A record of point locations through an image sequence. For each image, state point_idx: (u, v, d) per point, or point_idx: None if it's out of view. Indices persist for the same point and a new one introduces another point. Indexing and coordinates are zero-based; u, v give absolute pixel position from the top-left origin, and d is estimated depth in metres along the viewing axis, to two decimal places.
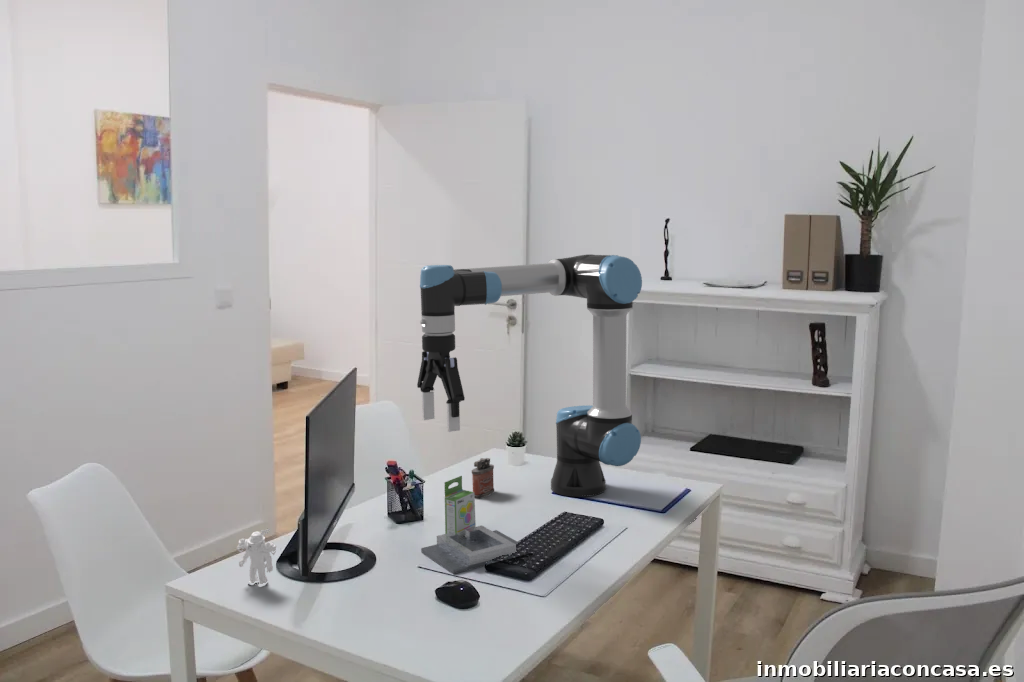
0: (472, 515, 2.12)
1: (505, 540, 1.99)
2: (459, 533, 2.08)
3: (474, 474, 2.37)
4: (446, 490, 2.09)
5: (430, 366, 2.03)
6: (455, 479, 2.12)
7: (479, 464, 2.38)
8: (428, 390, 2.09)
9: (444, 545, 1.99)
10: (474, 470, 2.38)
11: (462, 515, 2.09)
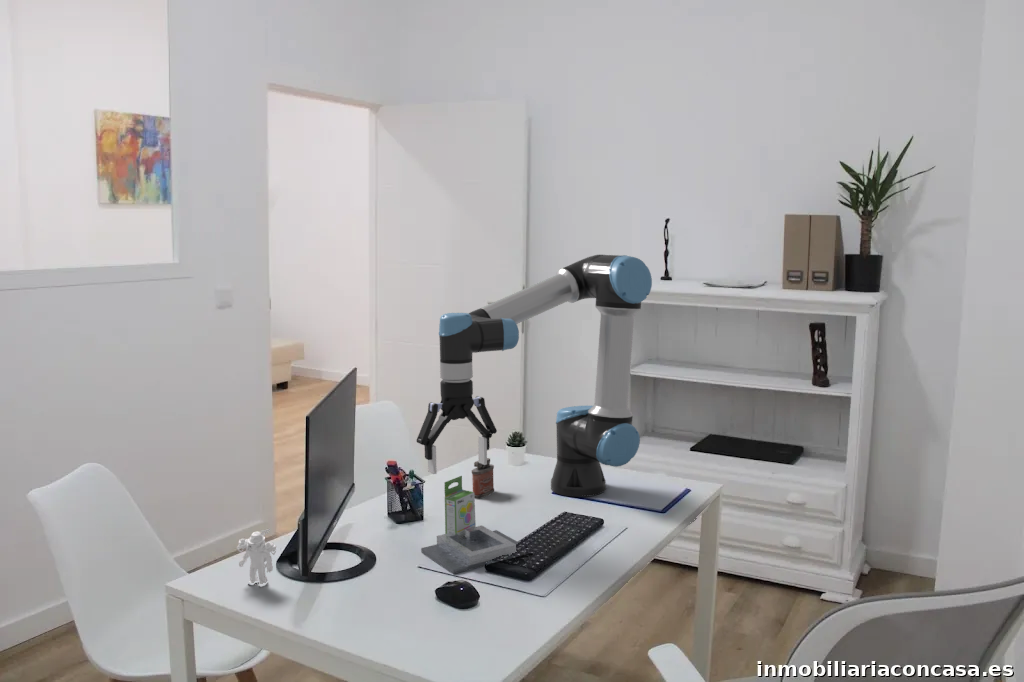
0: (472, 515, 2.12)
1: (505, 540, 1.99)
2: (459, 533, 2.08)
3: (474, 474, 2.37)
4: (446, 490, 2.09)
5: None
6: (455, 479, 2.12)
7: (479, 464, 2.38)
8: (484, 435, 2.12)
9: (444, 545, 1.99)
10: (474, 470, 2.38)
11: (462, 515, 2.09)
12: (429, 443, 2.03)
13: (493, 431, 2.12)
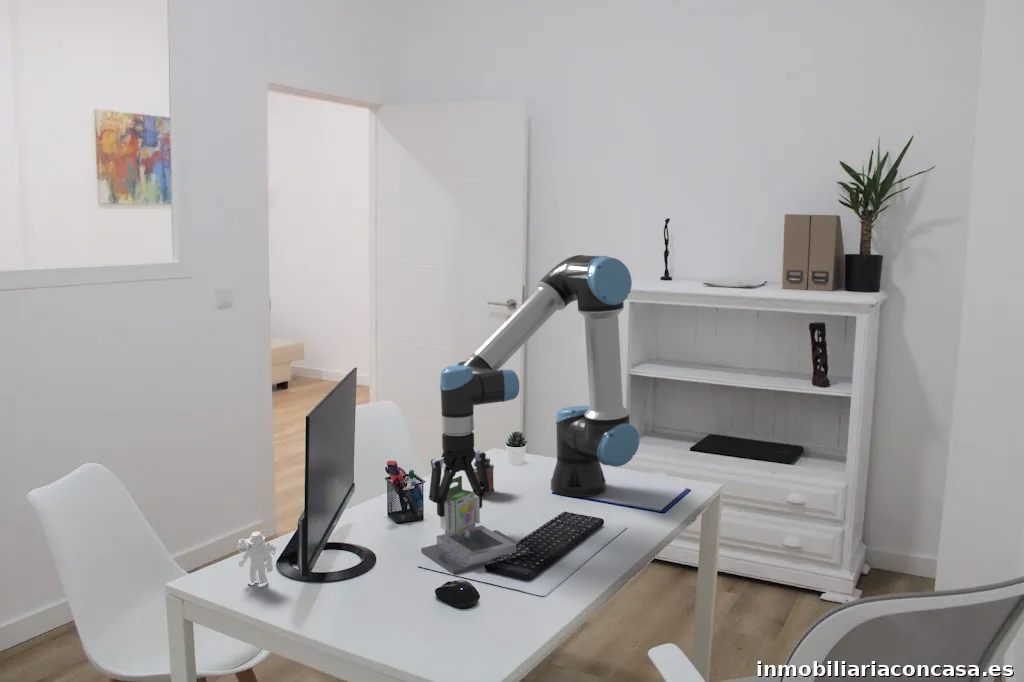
0: (472, 515, 2.12)
1: (505, 540, 1.99)
2: (459, 533, 2.08)
3: None
4: None
5: None
6: (455, 479, 2.11)
7: None
8: (476, 493, 2.13)
9: (444, 545, 1.99)
10: (474, 470, 2.38)
11: (462, 515, 2.09)
12: (441, 501, 2.06)
13: (486, 489, 2.13)
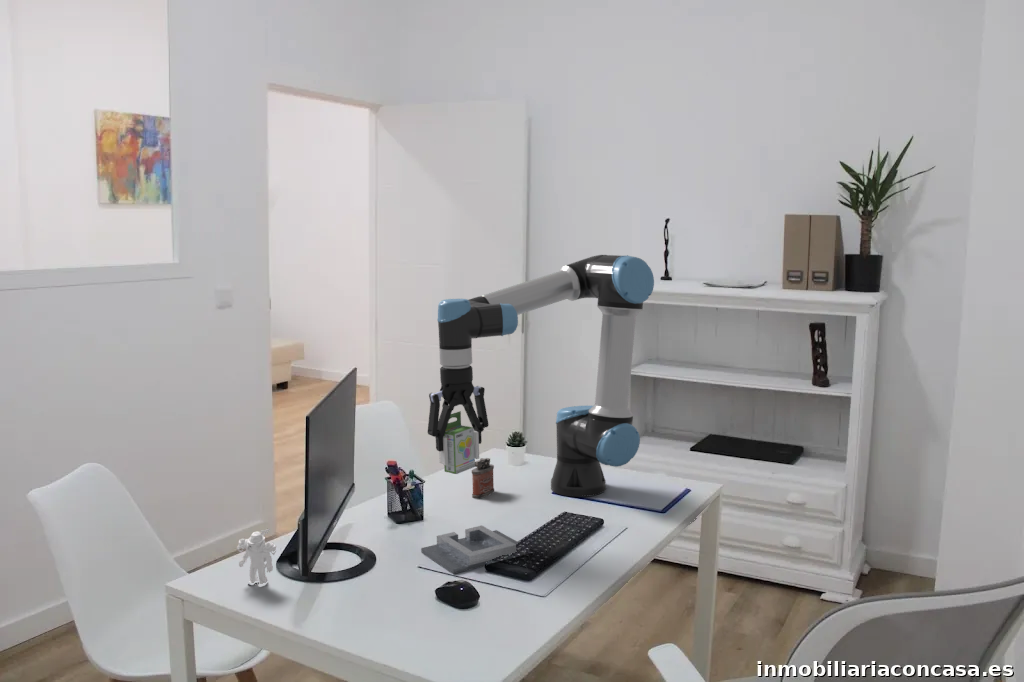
0: (471, 451, 2.10)
1: (505, 540, 1.99)
2: (459, 468, 2.06)
3: (474, 474, 2.37)
4: None
5: None
6: (454, 414, 2.09)
7: (479, 464, 2.38)
8: (475, 429, 2.10)
9: (444, 545, 1.99)
10: (474, 470, 2.38)
11: (461, 450, 2.07)
12: (440, 435, 2.04)
13: (485, 424, 2.11)
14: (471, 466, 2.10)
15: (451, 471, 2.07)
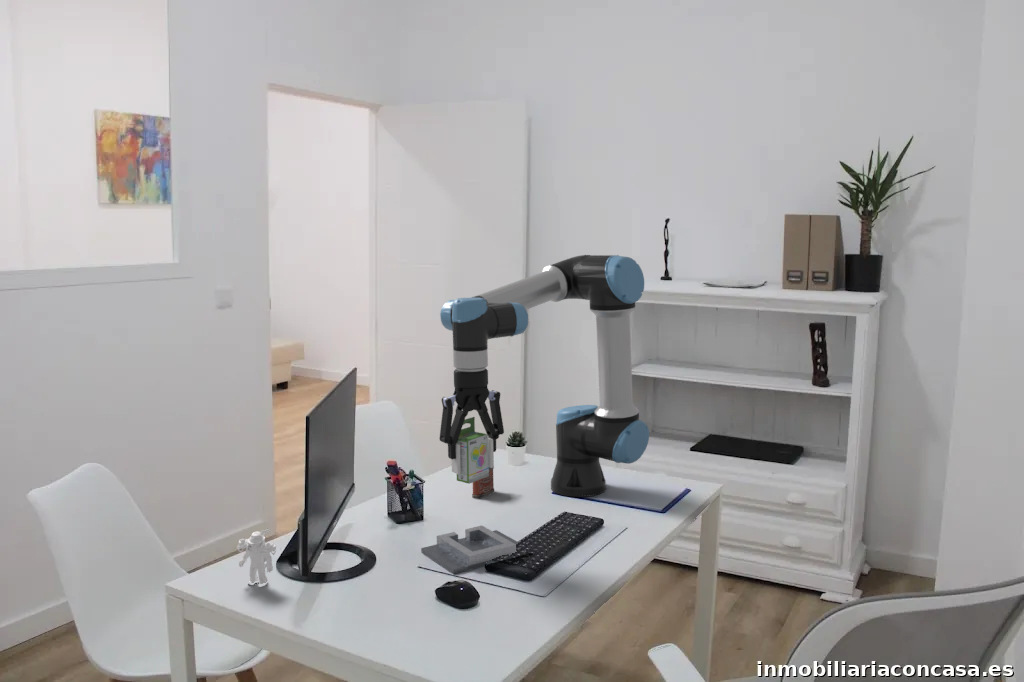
0: (486, 459, 1.98)
1: (505, 540, 1.99)
2: (472, 477, 1.94)
3: None
4: None
5: None
6: (467, 420, 1.97)
7: None
8: (490, 436, 1.98)
9: (444, 545, 1.99)
10: None
11: (475, 458, 1.95)
12: (453, 442, 1.92)
13: (500, 431, 1.99)
14: (485, 475, 1.98)
15: (464, 480, 1.95)
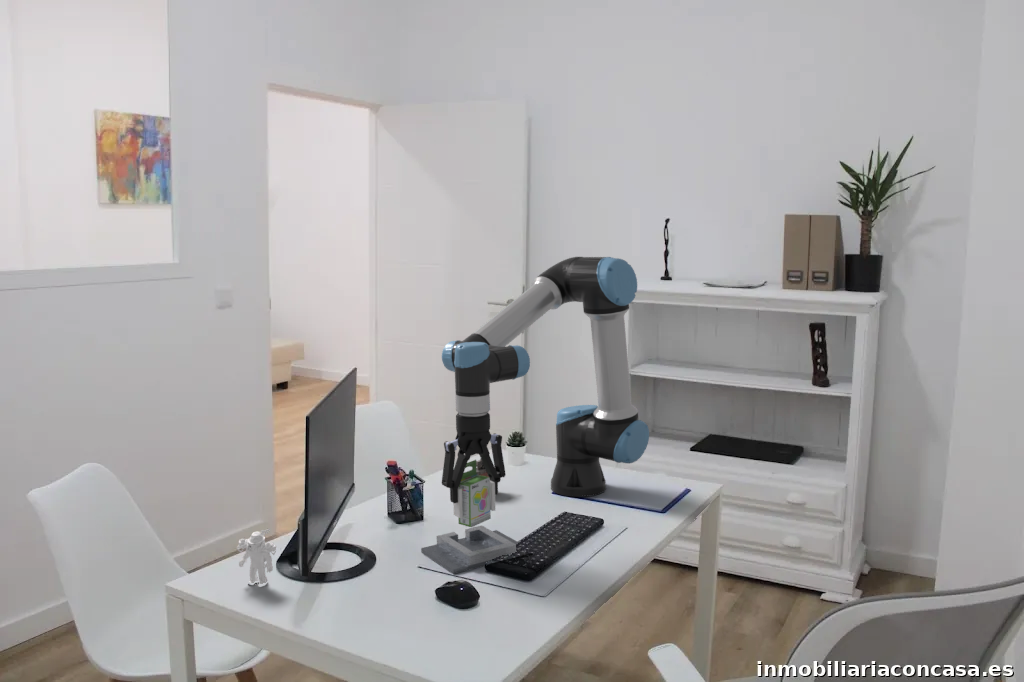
0: (487, 502, 1.99)
1: (505, 540, 1.99)
2: (474, 521, 1.95)
3: None
4: None
5: None
6: (469, 463, 1.98)
7: (479, 464, 2.38)
8: (492, 479, 1.99)
9: (444, 545, 1.99)
10: None
11: (477, 501, 1.96)
12: (455, 486, 1.93)
13: (502, 474, 2.00)
14: (486, 518, 1.99)
15: (466, 524, 1.96)
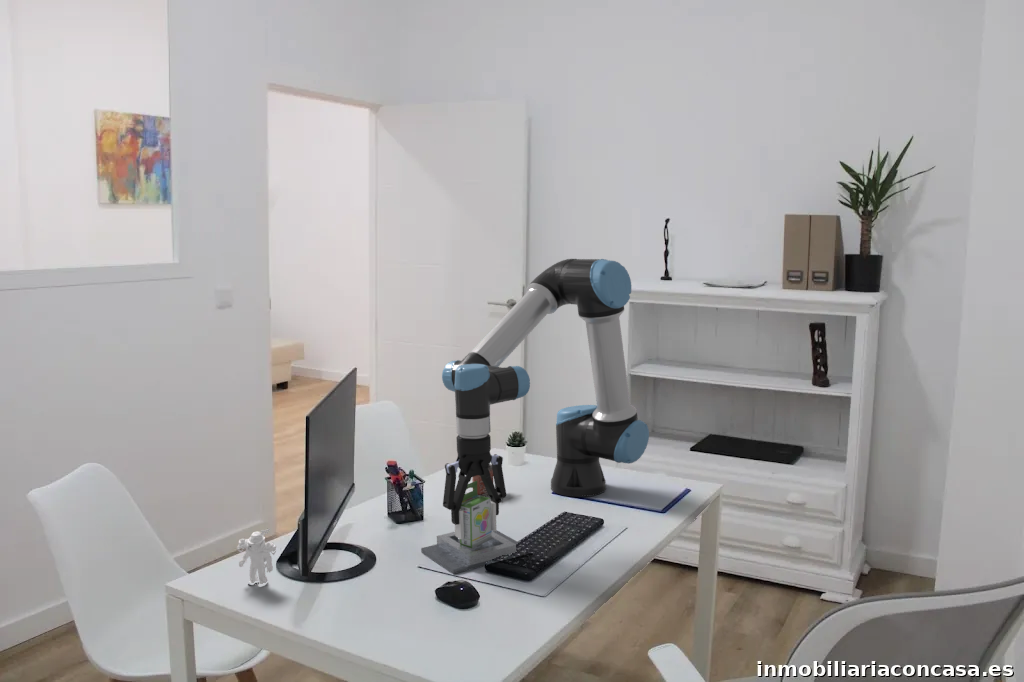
0: (488, 523, 2.00)
1: (505, 540, 1.99)
2: (475, 542, 1.96)
3: None
4: None
5: None
6: (470, 484, 1.99)
7: None
8: (492, 499, 2.00)
9: (444, 545, 1.99)
10: None
11: (478, 522, 1.96)
12: (456, 508, 1.94)
13: (503, 495, 2.01)
14: (488, 539, 2.00)
15: (467, 545, 1.97)
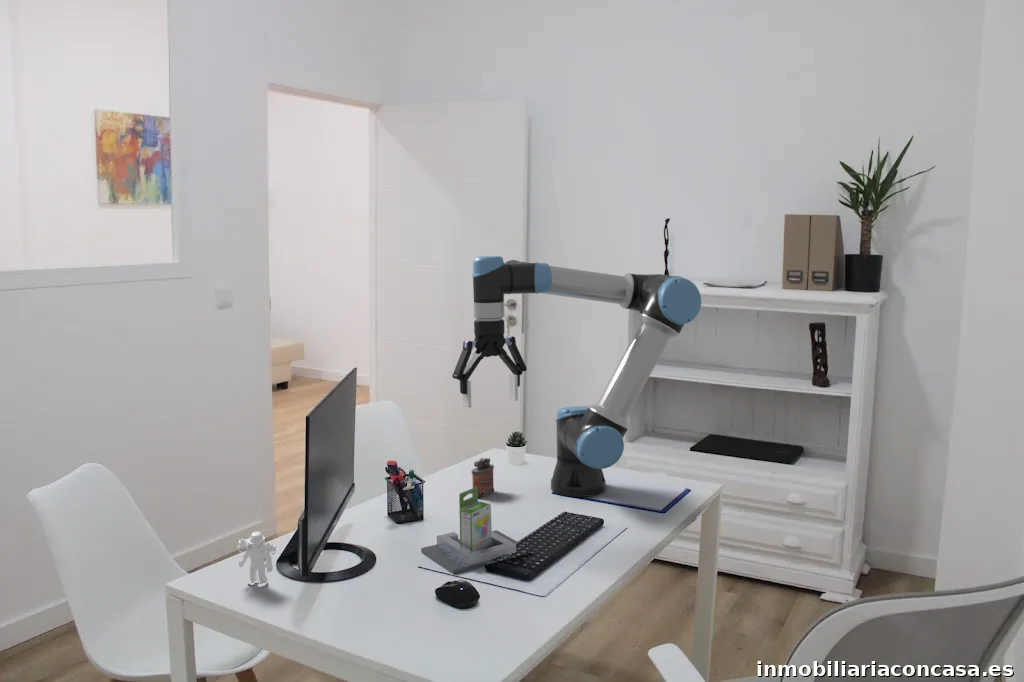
0: (489, 529, 2.00)
1: (505, 540, 1.99)
2: (475, 548, 1.96)
3: (474, 474, 2.37)
4: (461, 502, 1.97)
5: None
6: (470, 490, 1.99)
7: (479, 464, 2.38)
8: (515, 373, 2.24)
9: (444, 545, 1.99)
10: (474, 470, 2.38)
11: (478, 528, 1.97)
12: (464, 378, 2.16)
13: (523, 369, 2.25)
14: (488, 545, 2.00)
15: None
